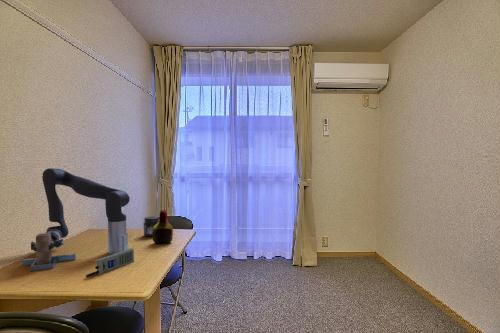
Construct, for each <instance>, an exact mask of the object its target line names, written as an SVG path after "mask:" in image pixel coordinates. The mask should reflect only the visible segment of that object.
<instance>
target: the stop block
mask: <svg viewBox="0 0 500 333" xmlns="http://www.w3.org/2000/svg"><path fill="white" fill-rule="evenodd" d="M35 243H36V252H35V258H36V265H39V264H48V263H51V262H52V256H53V255H52V249H51V250H49V245H50V244H51V233H46V232H44V233H43V232H42V233H38V234H36V235H35Z"/></svg>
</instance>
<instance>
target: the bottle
mask: <svg viewBox="0 0 500 333" xmlns="http://www.w3.org/2000/svg"><path fill="white" fill-rule="evenodd" d="M158 217H159V222H158V223H157V224H156V225H155V226H154V227H153V231H152V236H153V237H152V241H153V243H154V244H156V245H160V244H169V243H172V242H173V239H174V237H173V236H174V228H173V226H172V225H171V224H170V223H169V221H168V211H167V210H166V209H162V210H160V212H159V216H158Z"/></svg>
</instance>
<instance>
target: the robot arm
mask: <svg viewBox="0 0 500 333" xmlns="http://www.w3.org/2000/svg"><path fill="white" fill-rule="evenodd" d="M42 175H43V176H42ZM42 175H41V176H42V178H41V179H42V184H43V187H44V188H43V189H44V192H45V196H46V200H47V206H48V219H49V222H51V223H58V224H59V225H55V226H50V227H48V228H46V231H45V233H51V244H50V245H49V250H51V251H52V250H53V249H54V248H60V247H61V246H63V245H64V239H65V238H66V237H67V236H68V235H69V229H68V226H67V223H66V220H65V215H64V204H63V203H62V200H61V199H60V197H59V195H58V193H57V189H56V188H57V187H56V186H65V187H68V188H70V189H71V190H73V192H75V193H76V194H78V195H80V196H83V197H87V198H90V199H98V200H99V199H100V200H105V201H104V202H105V203H104V204H105V205H104V206H105V214H106V216H105V217H107V253H108V254H109V255H112V254H115V253H118V252H121V251H124V250H127V249H129V236H128V235H129V234H128V232H127V215H126V214H125V213H123V211H122V208H123V207H125V206H127V205H129V203H130V199H131V198H130V195H129V193H127V192H126V191H124V190H121V189H117V188H113V187H109V186H106V185H104V184H102V183H98V182H96V181H93V180H91V179H89V178H84V177H82V176H78V175H75V174H72V173H70V172H68V171H67V170H65V169H62V168H53V167H52V168H51V167H50V168H49V167H48V168H45V170H44V171H43V173H42ZM30 250H31V251H33V252H34V253H36V241H35V242H34V241H31V242H30Z"/></svg>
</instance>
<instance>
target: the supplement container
mask: <svg viewBox="0 0 500 333" xmlns="http://www.w3.org/2000/svg"><path fill="white" fill-rule="evenodd" d="M143 219H144V220H143V221H144V222H143V236H144V237H145V238H153V236H152V231H153V227H154V226H155V225H156V224H157V223H158V222H159V216H156V215H154V216H146V217H143Z"/></svg>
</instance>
